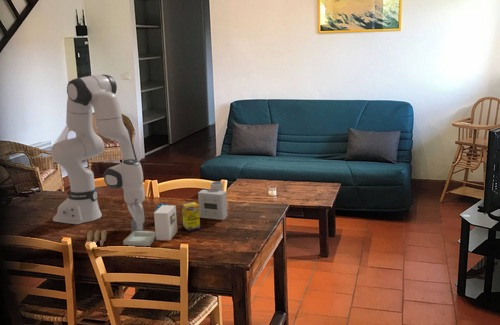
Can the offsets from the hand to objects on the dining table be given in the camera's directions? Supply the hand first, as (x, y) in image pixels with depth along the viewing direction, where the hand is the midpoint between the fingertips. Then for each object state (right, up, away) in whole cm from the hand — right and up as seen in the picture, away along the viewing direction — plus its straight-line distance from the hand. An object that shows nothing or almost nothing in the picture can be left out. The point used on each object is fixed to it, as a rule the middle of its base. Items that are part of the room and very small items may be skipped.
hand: (137, 226), depth 231 cm
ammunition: (-15, -6, -11) cm, 19 cm away
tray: (+4, -5, -11) cm, 12 cm away
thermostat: (+34, +4, +18) cm, 39 cm away
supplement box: (+24, -1, +2) cm, 24 cm away
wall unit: (+14, -3, -6) cm, 16 cm away
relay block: (0, -2, 0) cm, 2 cm away
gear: (+11, +1, +12) cm, 17 cm away
